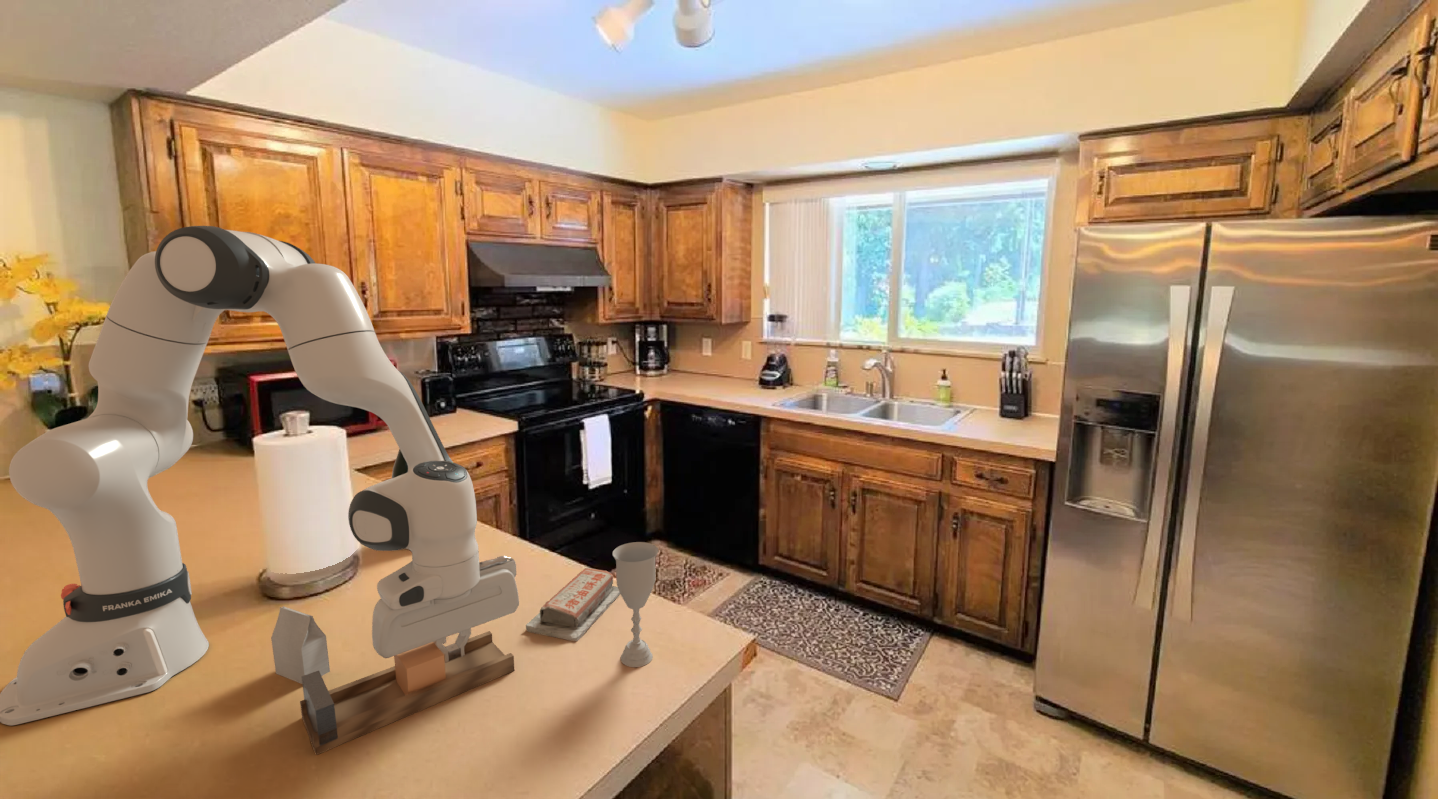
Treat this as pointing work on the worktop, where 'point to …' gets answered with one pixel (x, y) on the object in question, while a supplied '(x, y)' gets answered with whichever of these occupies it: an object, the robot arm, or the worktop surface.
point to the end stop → (319, 706)
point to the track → (386, 702)
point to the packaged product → (576, 606)
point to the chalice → (635, 593)
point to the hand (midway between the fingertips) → (452, 658)
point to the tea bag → (298, 645)
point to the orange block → (419, 668)
